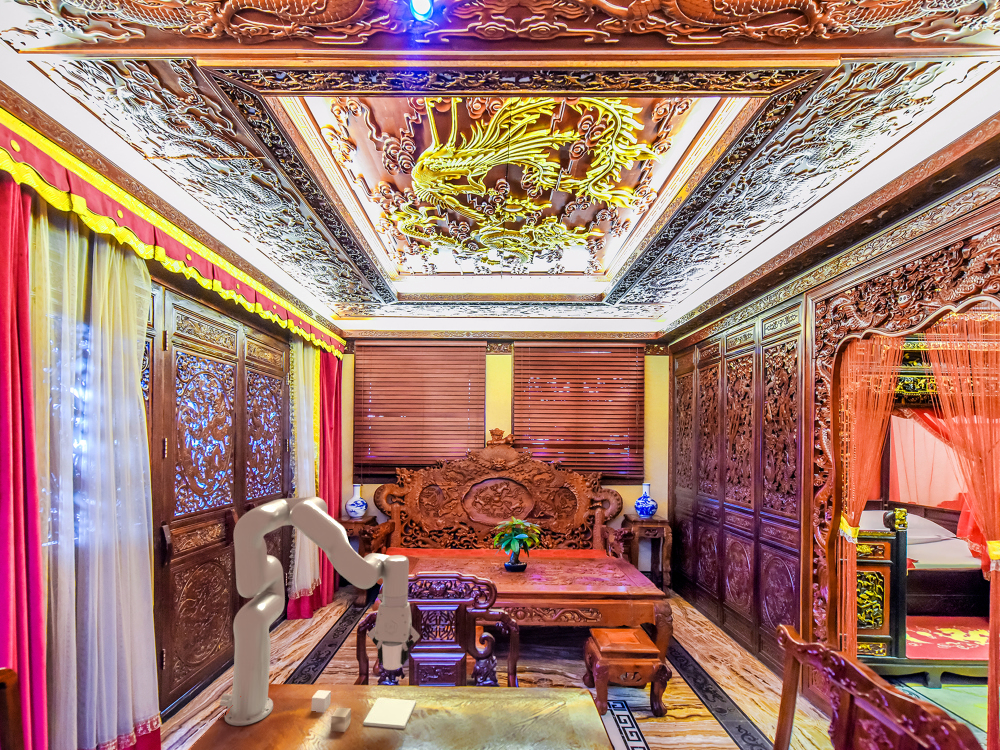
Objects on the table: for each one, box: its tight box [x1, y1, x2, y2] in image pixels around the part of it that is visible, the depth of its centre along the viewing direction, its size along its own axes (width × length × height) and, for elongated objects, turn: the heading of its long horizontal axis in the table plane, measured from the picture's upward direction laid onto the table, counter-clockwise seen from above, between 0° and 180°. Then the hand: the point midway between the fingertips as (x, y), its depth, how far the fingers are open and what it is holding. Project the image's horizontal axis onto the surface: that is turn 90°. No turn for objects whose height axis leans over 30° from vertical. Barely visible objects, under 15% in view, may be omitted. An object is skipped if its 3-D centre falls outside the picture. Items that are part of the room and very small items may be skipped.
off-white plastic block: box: [310, 689, 332, 714], centre depth 143 cm, size 4×4×4 cm
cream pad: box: [362, 697, 417, 730], centre depth 141 cm, size 12×12×1 cm
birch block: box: [330, 706, 352, 733], centre depth 135 cm, size 4×4×4 cm
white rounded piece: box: [382, 641, 403, 671], centre depth 142 cm, size 7×7×7 cm
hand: (392, 661), depth 142 cm, fingers closed on white rounded piece, 6 cm apart
